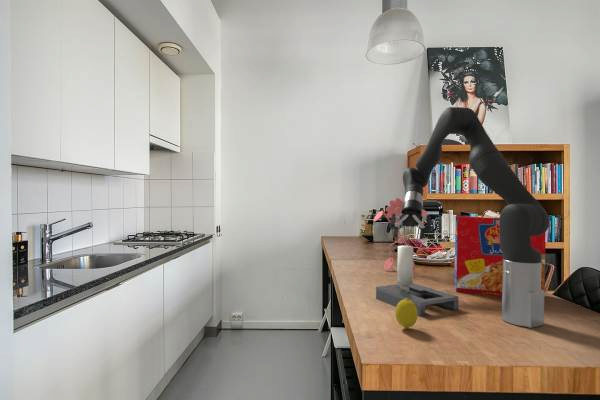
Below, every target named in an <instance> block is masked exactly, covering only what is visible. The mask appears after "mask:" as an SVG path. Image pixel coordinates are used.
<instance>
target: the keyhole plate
mask: <svg viewBox="0 0 600 400" xmlns="http://www.w3.org/2000/svg"><path fill="white" fill-rule="evenodd" d="M411 294H412V295H411ZM405 298H408V299H409V300H410V301H412V302H413V303H414V304H415V306H416V308H417V313H418V316H419V317H423V316H426V306H427V305H429V306H430V305H436V306H437V305H438V306H440V307H444V308H446V309H449V310H452V311H458V310H459V296H457V295H454V294H451V293H448V292H444V291H442V290H441V291H440V290H437V289H435V288H434V289H433V288H432V287H428V286H424V285H421V284H417V283H414V282H413V284H412V285H409V292H408V291H405V290H402V289H400V284H398V283H396V284H389V285H380V286H376V287H375V299H377V300H379V301H381V302H384V303H386V304H388V305H391V306H393V307H395V308H396V307H397V304H398V303H399V302H400V301H401V300H404V299H405ZM418 316H417V317H418Z"/></svg>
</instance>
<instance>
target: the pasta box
mask: <svg viewBox="0 0 600 400" xmlns="http://www.w3.org/2000/svg"><path fill="white" fill-rule="evenodd" d="M499 220H500V216H497V217H496V216H495V217H494V216H468V215H467V216H465V215H464V216H463V215H460V216H459V215H455V229H454V231H455V232H454V233H455V236H454V239H455V241H454V276H453V277H454V279H453V281H454V284H453V285H454V287H455V288H454V289H455V290H454V291H455V292H456V293H462V294H463V293H464V294H472V295H484V296H492V297H493V296H495V297H502V279H503V253H502V250H501V247H500V231H499ZM546 232H547V231H546ZM546 232H545V233H543V234H542V235H538V236H530V240H531V245H532V247H533V248H534V249H536V250H538V251H539V252H540V253H541V256H542V260H541V290H544V293H545V292H546V290H545V287H546V282H545V281H546V241H547V239H546V234H547V233H546Z"/></svg>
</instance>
